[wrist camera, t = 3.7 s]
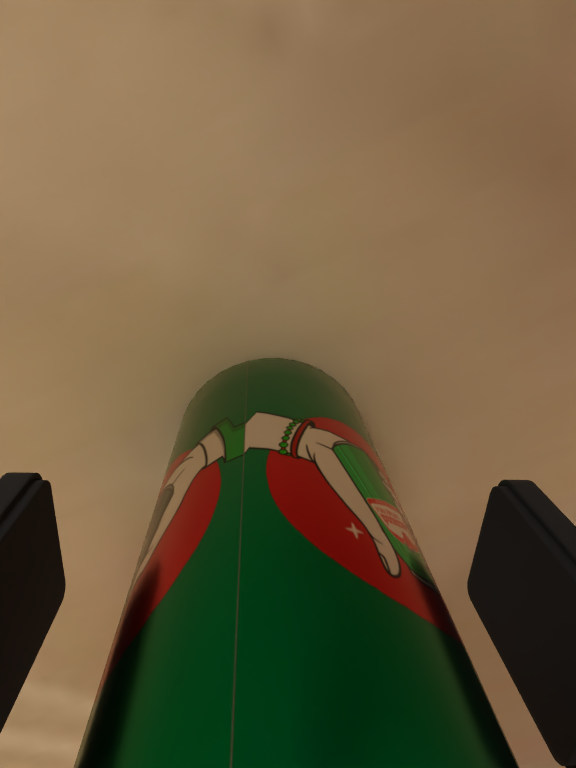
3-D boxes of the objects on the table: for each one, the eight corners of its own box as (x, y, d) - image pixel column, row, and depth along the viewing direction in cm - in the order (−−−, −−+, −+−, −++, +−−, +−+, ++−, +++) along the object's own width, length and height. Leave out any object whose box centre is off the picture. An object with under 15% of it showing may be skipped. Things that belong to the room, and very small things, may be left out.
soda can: (212, 522, 15) (83, 1516, 4) (157, 375, 13) (-451, 1551, 2) (371, 485, 15) (729, 1411, 4) (341, 330, 13) (921, 1326, 2)
